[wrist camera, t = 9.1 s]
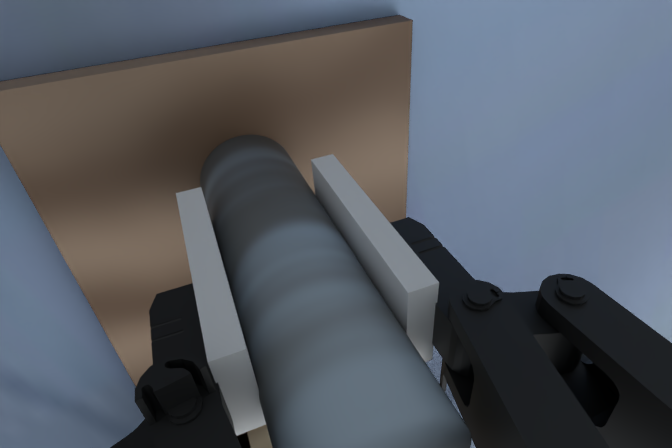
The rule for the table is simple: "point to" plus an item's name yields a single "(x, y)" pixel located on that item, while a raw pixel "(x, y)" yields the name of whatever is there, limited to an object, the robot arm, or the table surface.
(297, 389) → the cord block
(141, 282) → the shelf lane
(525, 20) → the table surface
